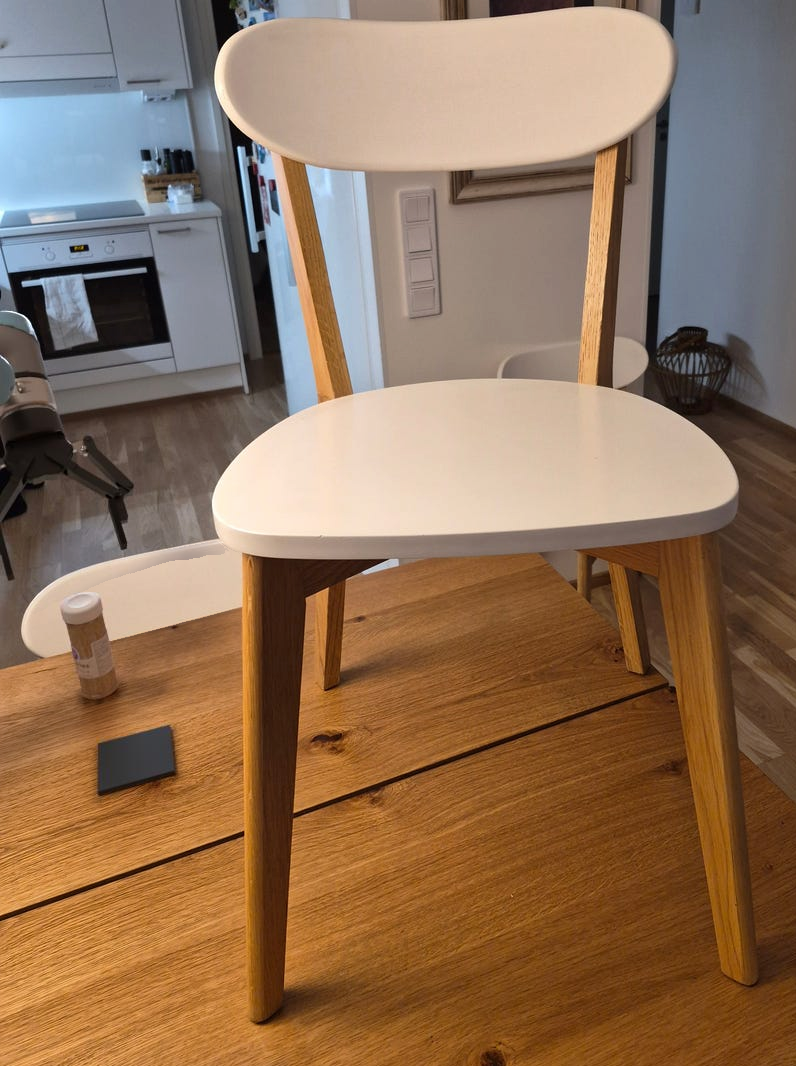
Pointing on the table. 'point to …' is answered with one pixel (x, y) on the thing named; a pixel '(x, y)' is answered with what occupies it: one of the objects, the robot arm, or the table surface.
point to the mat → (135, 759)
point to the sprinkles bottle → (90, 644)
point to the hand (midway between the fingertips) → (69, 561)
